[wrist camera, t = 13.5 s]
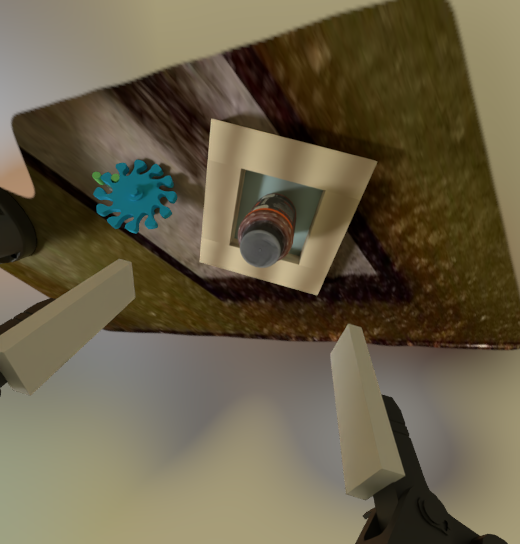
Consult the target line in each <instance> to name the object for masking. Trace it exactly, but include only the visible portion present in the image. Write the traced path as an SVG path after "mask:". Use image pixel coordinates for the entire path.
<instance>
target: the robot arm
mask: <svg viewBox="0 0 520 544" xmlns="http://www.w3.org/2000/svg"><path fill="white" fill-rule="evenodd" d="M35 248H36V235H35V232H34V229H33V226H32V224H31V222H30V220H29V219H28V217H27V215H26V214H25V212H24V211H23V210H22V208H21V207H20V206H19V205H18V204H17V202H16V201H15V200H14V199H13V198H12V197H11V196H10V195H9V194H8V193H6V192H5V191H4V190H3V189H2V188H0V264H1V263H8V262H14V261H17V260H20V259H22V258H25V257H27V256H29V255H31V254H32V253H33V252H34V250H35ZM134 298H135V291H134V282H133V272H132V263H131V262H129V261H125V260H122V259H118V260H117V261H115V262H113V263H112V264H110V265H109V266H107V267H106V268H104V269H103V270H101V271H99V272H98V273H96V274H95V275H93V276H92V277H90V278H89V279H87V280H85V281H84V282H82V283H81V284H79V285H78V286H76V287H75V288H73V289H71V290H70V291H68V292H67V293H65V294H64V295H62V296H61V297H59V298H57V299H53V298H50V299H47V300H44V301H42V302H39V303H37V304H35V305H33V306H32V307H30V308H28V309H27V310H25V311H24V312H23V313H20V314H18V315H17V316H15V317H14V318H13V319H10V320H9V321H7V322H5V323H4V324H2V325H0V387H2V386H3V385H4V384H5V383H7V382H8V384H9V385H10V387H11V388H12V390H14V391H17V392H20V393H23V394H26V395H32V394H33V393H34V392H35V391H36V390H37V389H38V388H39V387H40V386H41V385H42V384H43V383H44V382H45V381H47V380H48V379H49V378H50V377H51V376H52V375H53V374H54V373H55V372H56V371H57V370H58V369H59V368H61V367H62V366H63V365H64V364H65V363H66V362H67V361H68V360H69V359H70V358H71V357H72V356H73V355H74V354H76V353H77V352H78V351H79V350H80V349H81V348H82V347H83V346H84V345H85V344H86V343H87V342H88V341H89V340H90V339H92V338H93V337H94V336H95V335H96V334H97V333H98V332H99V331H100V330H101V329H102V328H103V327H104V326H106V325H107V324H108V323H109V322H110V321H111V320H112V319H113V318H114V317H115V316H116V315H117V314H118V313H119V312H121V311H122V310H123V309H124V308H125V307H126V306H127V305H128V304H129V303H130V302H131V301H132V300H133V299H134ZM330 358H331V366H332V375H333V384H334V392H335V401H336V410H337V419H338V426H339V436H340V444H341V454H342V462H343V471H344V480H345V489H346V494H347V495H350V496H353V497H357V498H360V499H363V500H367V499H369V498H370V497H372V496H373V497H374V503H375V508H373V509H371V510H370V511H368V512H366V513H365V514H364V515H363V517H364V518H365V519H367V518H368V520H367V522H366V524H365V526H364V528H363V530H362V532H361V534H360V535H359V537H358V540H357V542H356V543H355V544H508V543H507V542H505V541H504V540H503V539H501V538H499V537H498V536H496V535H492V534H486V535H482V536H479V535H478V534H476V533H475V532H474V531H472V530H470V529H469V528H468V527H466V526H465V525H463V524H462V523H461V522H459V521H458V520H456V519H455V518H453V517H452V516H451V515H450V514H448V512H447V511H446V509H445V507H444V505H443V504H442V503H441V501H440V500H439V499H438V498H437V496H436V495H434V494H433V493H432V492H431V491H430V490H429V488H428V486H427V484H426V481H425V478H424V476H423V473H422V470H421V467H420V464H419V461H418V458H417V456H416V453H415V450H414V447H413V444H412V441H411V439H410V438H409V433H408V430H407V427H406V426H405V421H404V419H403V416H402V413H401V410H400V409H399V407H398V406H397V404H396V403H395V401H394V400H393V398H392V397H388V396H385V395H382V394H381V392H380V389H379V385H378V382H377V379H376V375H375V372H374V368H373V365H372V362H371V359H370V355H369V352H368V348H367V345H366V341H365V338H364V335H363V331H362V328H361V327H357V326H354V325H350V324H348V325H347V327H346V329H345V330H344V332H343V334H342V335H341V337H340V339H339V340H338V342H337V344H336V345H335V347H334V349H333V351H332V352H331V354H330ZM0 395H1V390H0Z"/></svg>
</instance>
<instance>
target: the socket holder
mask: <svg viewBox="0 0 520 544" xmlns="http://www.w3.org/2000/svg"><path fill="white" fill-rule="evenodd" d="M377 162H378V161H374V160H371V159H368V158H364V157H360V156H356V155H352V154H348V153H344V152H340V151H336V150H333V149H329V148H325V147H321V146H317V145H313V144H309V143H305V142H301V141H298V140H294V139H290V138H286V137H282V136H278V135H274V134H270V133H267V132H263V131H259V130H255V129H251V128H247V127H243V126H239V125H235V124H232V123H228V122H224V121H220V120H215V119H211V129H210V141H209V153H208V165H207V178H206V190H205V202H204V214H203V226H202V239H201V251H200V262H201V263H205V264H209V265H212V266H216V267H219V268H223V269H226V270H230V271H233V272H237V273H240V274H244V275H247V276H251V277H254V278H258V279H261V280H265V281H268V282H272V283H276V284H279V285H283V286H286V287H290V288H293V289H297V290H300V291H304V292H307V293H311V294H314V295H318V293H319V291H320V288H321V286H322V284H323V282H324V279H325V277H326V275H327V273H328V271H329V268H330V266H331V264H332V262H333V259H334V257H335V255H336V253H337V251H338V248H339V246H340V244H341V242H342V239H343V237H344V235H345V233H346V231H347V228H348V226H349V224H350V222H351V219H352V217H353V215H354V213H355V211H356V208H357V206H358V204H359V202H360V200H361V197H362V195H363V193H364V191H365V188H366V186H367V184H368V182H369V180H370V177H371V175H372V173H373V171H374V168H375V166H376V164H377ZM273 193H274V194H281V195H284V196H286V197H287V198H288V199H290V201H291V202H292V203H293V205H294V206H295V209H296V226H295V233H294V239H293V244H292V247H291V249H290V251H289V253H288V254H287V255H286V256H285V257H284V258H283V259H281V260H279V261H277V262H276V263H275V264H273V265H272V266H269V267H266V268H258V267H255V266H252V265H250V264H249V263H247V262H246V261H245V260H244V258H243V257H242V255H241V252H240V245H239V242H238V229H239V226H240V224H241V222H242V221H243V219H244V218H245V216H246V215H247V214H248V213H249V211H250V210H251V209H252V207H253V206H254V205H255V204H256V202H257V201H258V200H259V199H260V198H262V197H263V196H265V195H267V194H273Z"/></svg>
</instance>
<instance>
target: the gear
mask: <svg viewBox="0 0 520 544" xmlns="http://www.w3.org/2000/svg"><path fill="white" fill-rule="evenodd" d="M134 165H135V166H134V170H133V171H132V173H131V174H130V175H129V176H126V175H127V173H128V172H129V168H128V166H127V165H126V163H119V164H116V169H117V170H118V171H119V174H120V176H119V175H118V174H113V175H111V174H110V173H109V172H107V173H105V174H103V175H101V174H100V173H99V172H94V173H93V174H92V177H93V178H94V179H95V180H96V181H97V182H98V183H99V184H100V185H104V184H106V186H107V187H108V188H109V189H110V190H111V191H112V193H111V194H107V193H106V192H105V191H104V190H103V189H102V188H100V187H97V188H96V190H95V191H94V194H93V195H94V196H95V197H96V198H98V199H99V200H110V201H113V205H112V206H109V207H108V206H105V205H104V204H98V205H97V207H96V209H97V213H98V214H99V215H101V216H107V215H108V214H110V213H113V212H121V214H120V216H118V217H109V218H108V219H107V221H108V223H109V224H110V225H111V226H112V227H114V228H115V229H118V228H119V227H120V226H121V224H122V223H123V222H124V221H125V220H126V219H128V218H130V217H134V219H133V220H132V221H130V222H128V223H127V224H126V225H125V228H126V229H127V230H128V231H130V232H132V233H138V231H139V223H140V221H141V219H142V218H143V217H144V216H145V215H148V218H147V219H146V221H145V226H146V227H147V228H148V229H154V228H157V227H158V224H157V222H156V221H155V219H154V214H155V212H154V210H155V209H156V208H160V214H161V216H162V217H163V218H164V219H166V218H168V217H169V216H171V215H172V212H171V211H170V209H169V208H168V207H165V206H163V205H162V204H161V203H160V199H161V198H162V197H166V198H167V199H168V201H169V202H170V203H175V202H176V200H177V195H176V193H175V192H174V191H162V190H160V189H159V187H160V186H162V185H164V186H166V187H168V188H172V187H174V183H173V180H172V178H171V176H165V177H164V178H161V179H151V178H152V177H154V176H162V175H163V171H162V169H161V168H160V166H159V165H157V164H154V165H153V166H152V167H151V169H150V170H149V171H148V172H146V173H144V174H141V175H139V174H140V173H141V172H143V171H145V170H146V169H147V165H146V164H145V162H144V161H141V160H135V162H134Z"/></svg>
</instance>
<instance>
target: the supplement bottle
mask: <svg viewBox="0 0 520 544" xmlns="http://www.w3.org/2000/svg"><path fill="white" fill-rule="evenodd" d="M295 226H296V209H295V206H294V205H293V203H292V202H291V201H290V199H288V198H287V197H286V196H284V195H281V194H274V193H273V194H267V195H265V196H263V197H262V198H260V199H259V200H258V201H257V202H256V204H255V205H254V206H253V207H252V209H251V210H250V211H249V213H248V214H247V215H246V216H245V218H244V219H243V221H242V222H241V224H240V226H239V229H238V242H239V245H240V252H241V255H242V257H243V258H244V260H245V261H246V262H247V263H249V264H250V265H252V266H255V267H258V268H266V267H269V266H272V265H273V264H275V263H276V262H277V261H279V260H281V259H283V258H284V257H285V256H286V255H287V254H288V253H289V251H290V249H291V247H292V244H293V239H294V233H295Z"/></svg>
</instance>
